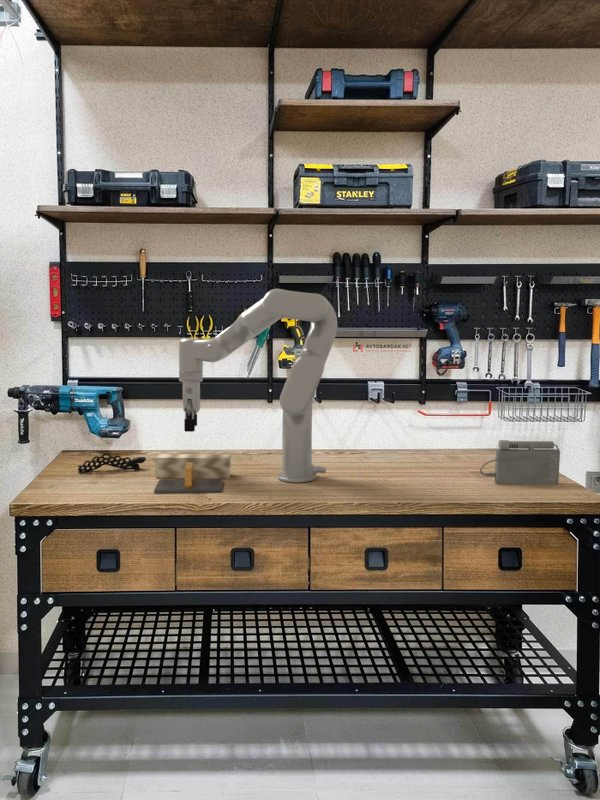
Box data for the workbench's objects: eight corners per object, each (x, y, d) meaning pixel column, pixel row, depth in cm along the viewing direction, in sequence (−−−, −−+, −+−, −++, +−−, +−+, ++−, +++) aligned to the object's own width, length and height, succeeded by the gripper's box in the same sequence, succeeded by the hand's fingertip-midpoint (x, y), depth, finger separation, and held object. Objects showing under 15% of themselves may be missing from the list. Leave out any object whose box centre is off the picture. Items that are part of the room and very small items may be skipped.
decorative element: (77, 475, 226) (77, 458, 225) (78, 471, 231) (77, 454, 230) (146, 471, 232) (146, 454, 231) (145, 467, 237) (145, 451, 236)
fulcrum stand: (222, 481, 217) (222, 460, 216) (221, 492, 205) (220, 469, 204) (159, 482, 216) (159, 461, 215) (154, 493, 204) (153, 470, 203)
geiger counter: (556, 438, 217) (478, 438, 217) (564, 442, 211) (484, 442, 211) (554, 481, 219) (477, 481, 219) (562, 486, 212) (482, 486, 212)
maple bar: (230, 474, 227) (230, 454, 226) (228, 479, 221) (228, 458, 220) (159, 474, 227) (158, 454, 226) (155, 478, 222) (154, 457, 221)
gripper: (200, 379, 211) (200, 433, 214) (204, 373, 228) (204, 423, 231) (176, 379, 211) (176, 433, 213) (181, 373, 228) (182, 423, 230)
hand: (190, 428), depth 222 cm, fingers open, 9 cm apart
